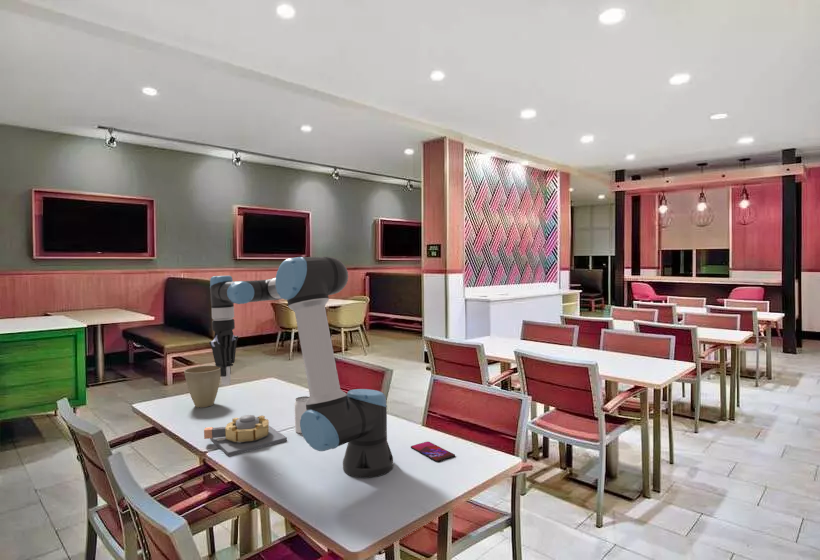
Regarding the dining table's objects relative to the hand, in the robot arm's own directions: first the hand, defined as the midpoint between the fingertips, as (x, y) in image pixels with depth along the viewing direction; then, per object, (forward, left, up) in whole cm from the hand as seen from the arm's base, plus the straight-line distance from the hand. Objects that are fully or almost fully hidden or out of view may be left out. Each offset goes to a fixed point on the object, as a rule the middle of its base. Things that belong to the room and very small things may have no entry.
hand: (226, 384), depth 175 cm
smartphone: (-59, -46, -19) cm, 77 cm away
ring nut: (-8, -1, -16) cm, 18 cm away
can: (-14, -23, -19) cm, 33 cm away
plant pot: (+44, -4, -19) cm, 48 cm away
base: (-9, -4, -18) cm, 21 cm away
